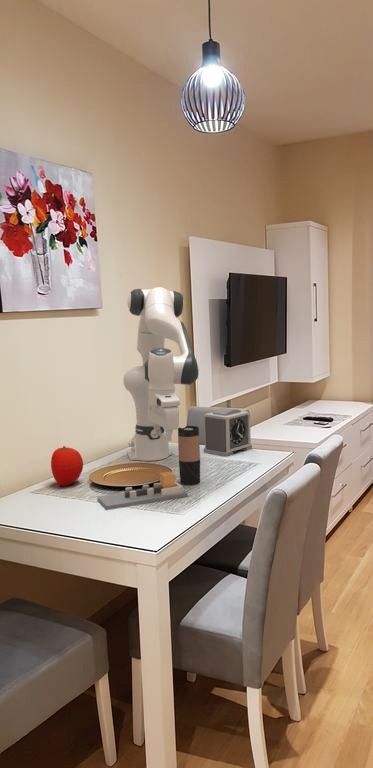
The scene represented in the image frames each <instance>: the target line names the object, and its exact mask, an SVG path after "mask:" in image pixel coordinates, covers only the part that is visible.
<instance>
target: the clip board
mask: <svg viewBox="0 0 373 768" xmlns="http://www.w3.org/2000/svg"><path fill="white" fill-rule="evenodd" d="M158 486H160V482H155V483H153V487H158ZM144 488H149V489H147V495H143V496H137V497H136V491H131V490H133V487H132V486H130V487H125V491H129V492H130V498H125V493H124V492H119V493H111V494H107V495H106V494H105V495H100V496H97V497H96V498H97V501H98V502H99V503H100V505H101V506H102V507H103V508H104V509H105V510H106V511H107V510H114V509H121V508H127V507H131V506H138V505H143V504H144V505H145V504H149V503H151V504H152V503H156V502H162V501H170V500H175V499H181V498H187V497H189V495H188V494H189V493H188V492H187V491H185V490H184V485H182V484H181V483H180V482H179V483H178V482H177V481H176V480H175V487H171V488H165V489H161V493H156V494H154V489H153V488H151V487H150V485H149V484H143V485H142V489H144Z"/></svg>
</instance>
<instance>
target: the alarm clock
mask: <svg viewBox="0 0 373 768" xmlns="http://www.w3.org/2000/svg"><path fill="white" fill-rule="evenodd" d="M203 417H204V418H203V419H204V420H203V421H204V425H203V427H204V448H203V453H204V454H208V455H213V456H218V457H223V458H224V457H225V458H227V457H228V458H229V457H232V456H233V455H234V452H236V451H238V450H241V451H246V452H247V451H251V450H252V449H253V446H252V441H251V411H245V410H241V409H235V408H229V407H221V408H218V409H216V410H214V411H213V412H208V413H204V415H203Z"/></svg>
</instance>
